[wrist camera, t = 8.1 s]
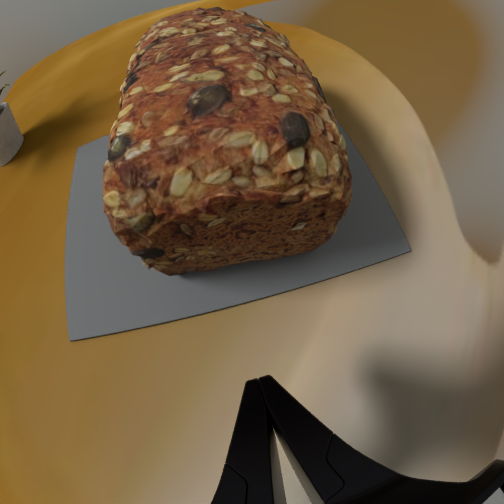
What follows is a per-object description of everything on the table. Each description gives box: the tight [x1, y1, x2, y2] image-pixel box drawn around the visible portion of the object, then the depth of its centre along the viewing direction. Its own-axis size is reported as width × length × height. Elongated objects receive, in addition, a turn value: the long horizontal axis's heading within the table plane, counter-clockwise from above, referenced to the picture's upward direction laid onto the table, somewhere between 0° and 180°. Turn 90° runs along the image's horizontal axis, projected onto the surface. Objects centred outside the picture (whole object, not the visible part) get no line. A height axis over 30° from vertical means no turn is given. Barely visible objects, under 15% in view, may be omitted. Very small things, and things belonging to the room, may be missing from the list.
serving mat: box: [65, 119, 411, 341], centre depth 19 cm, size 18×24×1 cm
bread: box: [103, 7, 352, 276], centre depth 15 cm, size 19×11×10 cm, turn 10°
